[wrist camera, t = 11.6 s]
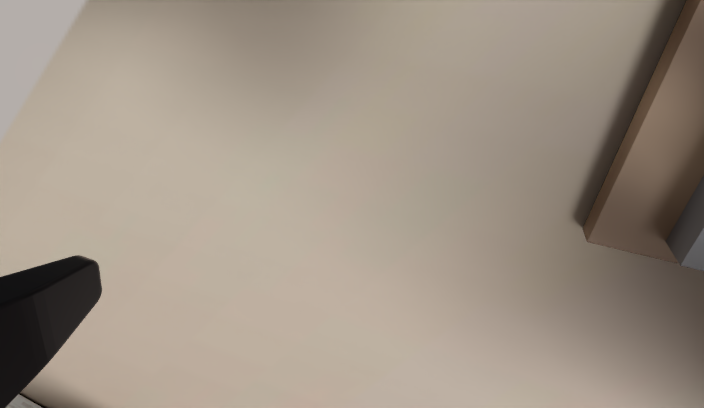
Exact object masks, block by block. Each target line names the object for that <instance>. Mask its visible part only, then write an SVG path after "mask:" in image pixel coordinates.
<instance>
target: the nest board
mask: <svg viewBox="0 0 704 408" xmlns="http://www.w3.org/2000/svg"><path fill="white" fill-rule="evenodd" d="M583 231H584V234H585V237H586V240H587V242H590V243H594V244H598V245H602V246H607V247H611V248H615V249H619V250H623V251H628V252H632V253H636V254H640V255H644V256H649V257H653V258H657V259H661V260H665V261H670V262H674V263H678V264H680V266H684V267H689V268H693V269H697V270H701V271H704V0H686V3H685V5H684V7H683V9H682V11H681V14H680V16H679V18H678V20H677V22H676V25H675V27H674V29H673V31H672V33H671V36H670V38H669V40H668V42H667V44H666V47H665V49H664V51H663V53H662V55H661V57H660V60H659V62H658V64H657V66H656V68H655V71H654V73H653V75H652V77H651V79H650V82H649V84H648V86H647V88H646V90H645V93H644V95H643V97H642V99H641V101H640V104H639V106H638V108H637V110H636V112H635V115H634V117H633V119H632V121H631V123H630V126H629V128H628V130H627V132H626V134H625V137H624V139H623V141H622V143H621V145H620V148H619V150H618V152H617V154H616V156H615V159H614V161H613V163H612V165H611V167H610V170H609V172H608V174H607V176H606V178H605V181H604V183H603V185H602V187H601V189H600V192H599V194H598V196H597V198H596V200H595V203H594V205H593V207H592V209H591V211H590V214H589V216H588V218H587V220H586V222H585V225H584V227H583Z"/></svg>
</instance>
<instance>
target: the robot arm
mask: <svg viewBox="0 0 704 408" xmlns="http://www.w3.org/2000/svg"><path fill="white" fill-rule="evenodd" d="M101 293H102V286H101V279H100V271H99V265H98V263H97V262H96V261H94V260H92V259H89V258H86V257H83V256H72V257H69V258H65V259H62V260H58V261H55V262H51V263H48V264H44V265H41V266H37V267H34V268H30V269H27V270H23V271H20V272H17V273H13V274H10V275H6V276H3V277H0V408H6V407H7V406H8V405H9V404H10V402H11V401H12V400H13V399H14V398H15V397H16V396H17V395H18V394H19V393H20V392H21V391H22V390H23V389H24V388H25V387H26V386H27V385H28V384H29V383H30V382H31V381H32V380H33V379H34V378H35V376H36V375H37V374H38V373H39V372H40V371H41V370H42V369H43V368H44V367H45V366H46V365H47V364H48V363H49V361H50V360H51V359H52V358H53V357H54V355H55V354H56V353H57V352H58V351H59V349H60V348H61V347H62V346H63V344H64V343H65V342H66V341H67V339H68V338H69V337H70V336H71V334H72V333H73V332H74V331H75V329H76V328H77V327H78V326H79V324H80V323H81V322H82V321H83V319H84V318H85V317H86V316H87V314H88V313H89V312H90V311H91V309H92V308H93V307H94V306H95V304H96V303H97V302H98V300H99V298H100V296H101Z"/></svg>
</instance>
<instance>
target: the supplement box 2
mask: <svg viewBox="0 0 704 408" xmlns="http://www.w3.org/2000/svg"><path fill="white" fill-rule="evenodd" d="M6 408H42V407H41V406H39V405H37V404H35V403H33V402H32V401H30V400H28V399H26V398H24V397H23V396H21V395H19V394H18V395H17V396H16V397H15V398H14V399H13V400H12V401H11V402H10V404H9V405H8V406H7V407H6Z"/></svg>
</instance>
